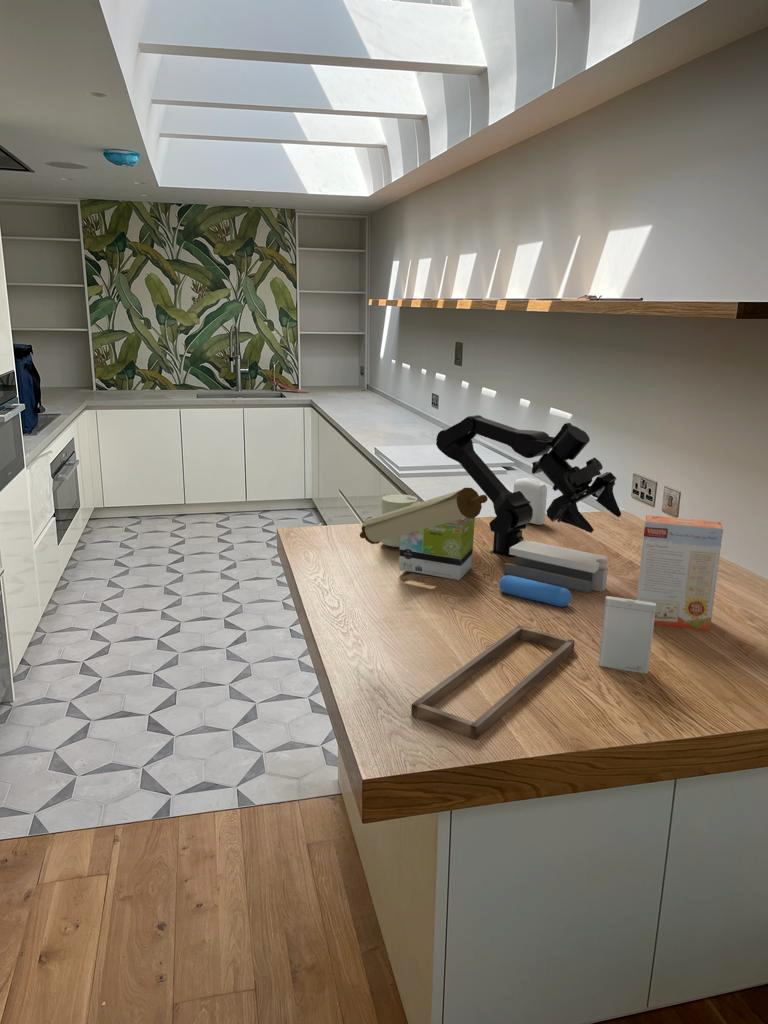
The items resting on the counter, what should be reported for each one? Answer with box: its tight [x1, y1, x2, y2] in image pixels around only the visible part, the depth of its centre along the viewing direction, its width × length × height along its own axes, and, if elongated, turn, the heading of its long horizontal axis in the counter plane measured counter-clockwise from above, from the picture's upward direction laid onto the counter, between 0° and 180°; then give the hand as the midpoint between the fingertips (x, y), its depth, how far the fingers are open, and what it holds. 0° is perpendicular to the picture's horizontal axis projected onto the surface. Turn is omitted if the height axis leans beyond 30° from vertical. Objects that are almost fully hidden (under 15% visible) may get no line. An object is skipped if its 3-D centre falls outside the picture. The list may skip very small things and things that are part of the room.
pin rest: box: [410, 625, 576, 740], centre depth 130 cm, size 11×37×2 cm, turn 145°
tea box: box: [398, 500, 476, 582], centre depth 181 cm, size 15×10×15 cm, turn 68°
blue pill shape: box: [498, 574, 572, 608], centre depth 166 cm, size 16×4×4 cm, turn 55°
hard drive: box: [598, 595, 656, 674], centre depth 134 cm, size 2×8×12 cm, turn 69°
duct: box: [503, 556, 609, 594], centre depth 177 cm, size 22×8×5 cm, turn 55°
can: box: [380, 493, 418, 548], centre depth 202 cm, size 9×9×12 cm
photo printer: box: [512, 477, 548, 526], centre depth 224 cm, size 10×4×12 cm, turn 39°
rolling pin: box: [359, 487, 489, 545], centre depth 133 cm, size 32×6×5 cm, turn 42°
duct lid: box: [509, 539, 608, 573], centre depth 176 cm, size 21×8×2 cm, turn 55°
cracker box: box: [635, 514, 724, 631], centre depth 153 cm, size 14×6×21 cm, turn 71°
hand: (606, 523), depth 176 cm, fingers open, 9 cm apart
